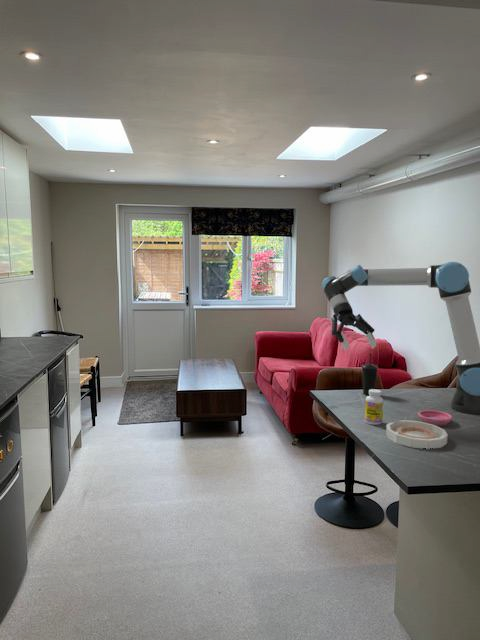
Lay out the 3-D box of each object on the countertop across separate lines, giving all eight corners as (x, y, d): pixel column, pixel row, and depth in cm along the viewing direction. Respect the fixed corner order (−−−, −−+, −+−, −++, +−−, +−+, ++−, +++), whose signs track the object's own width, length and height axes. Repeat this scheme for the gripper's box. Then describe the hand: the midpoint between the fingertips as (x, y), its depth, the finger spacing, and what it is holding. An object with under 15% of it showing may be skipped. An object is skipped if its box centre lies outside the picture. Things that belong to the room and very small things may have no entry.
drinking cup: (375, 392, 226) (377, 352, 224) (378, 396, 218) (380, 355, 216) (359, 391, 227) (361, 351, 224) (361, 396, 219) (363, 354, 217)
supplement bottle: (363, 423, 180) (364, 391, 179) (365, 418, 186) (367, 387, 185) (381, 426, 178) (383, 393, 176) (382, 421, 184) (384, 389, 182)
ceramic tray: (439, 430, 174) (440, 423, 173) (451, 451, 154) (452, 442, 154) (384, 425, 178) (384, 418, 178) (388, 445, 159) (389, 436, 158)
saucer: (418, 424, 181) (418, 417, 180) (417, 415, 192) (418, 408, 192) (453, 429, 176) (453, 421, 176) (450, 419, 188) (450, 411, 188)
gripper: (360, 312, 207) (380, 351, 195) (312, 313, 198) (330, 354, 186) (369, 301, 202) (390, 341, 190) (320, 301, 192) (339, 343, 180)
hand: (360, 347), depth 188 cm, fingers open, 13 cm apart
